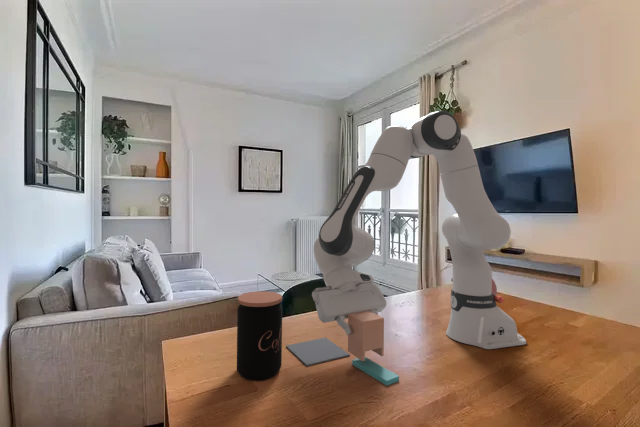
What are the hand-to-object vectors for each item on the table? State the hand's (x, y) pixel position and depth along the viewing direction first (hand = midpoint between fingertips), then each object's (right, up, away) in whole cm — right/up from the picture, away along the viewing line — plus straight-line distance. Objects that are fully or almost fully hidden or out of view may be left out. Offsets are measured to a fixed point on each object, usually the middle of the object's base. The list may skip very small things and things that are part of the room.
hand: (363, 330), depth 84 cm
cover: (0, -5, -1) cm, 6 cm away
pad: (-12, -8, +7) cm, 16 cm away
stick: (+2, -9, -4) cm, 10 cm away
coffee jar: (-26, -8, -4) cm, 27 cm away
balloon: (+52, -9, +53) cm, 74 cm away
